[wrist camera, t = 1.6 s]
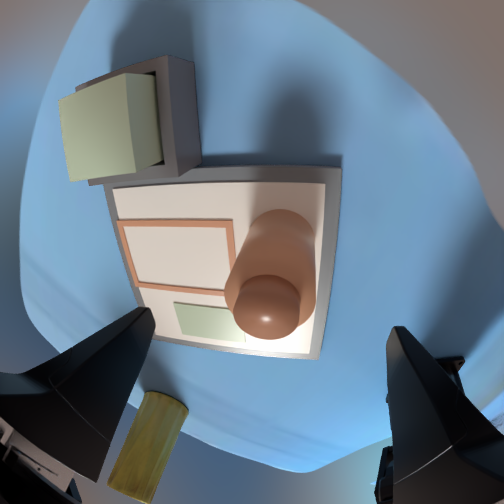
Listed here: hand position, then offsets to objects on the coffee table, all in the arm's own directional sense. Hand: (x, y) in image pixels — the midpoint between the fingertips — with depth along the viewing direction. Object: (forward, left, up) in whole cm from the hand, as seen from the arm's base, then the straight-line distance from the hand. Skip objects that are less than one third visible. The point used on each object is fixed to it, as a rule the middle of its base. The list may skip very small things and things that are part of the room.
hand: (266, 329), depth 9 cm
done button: (+7, -7, -6) cm, 11 cm away
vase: (+14, +24, -7) cm, 29 cm away
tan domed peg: (0, 0, -7) cm, 7 cm away
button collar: (+7, -7, -7) cm, 12 cm away
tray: (+4, +3, -7) cm, 9 cm away
